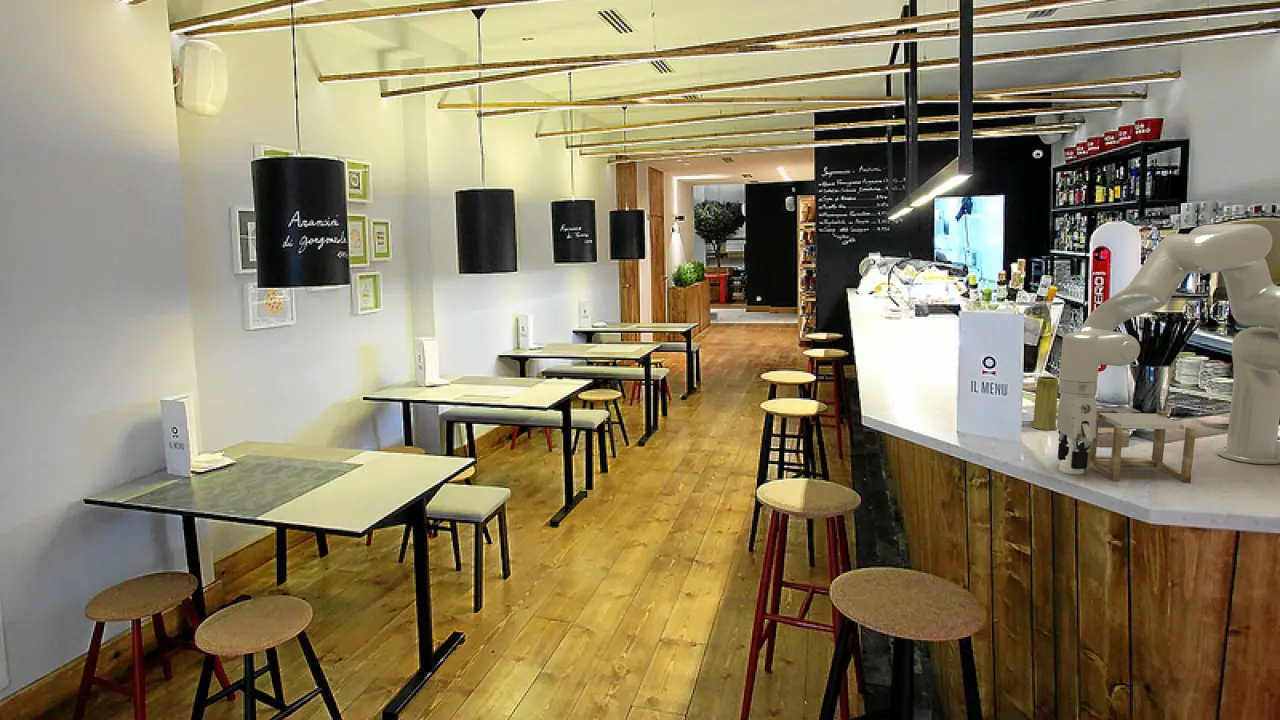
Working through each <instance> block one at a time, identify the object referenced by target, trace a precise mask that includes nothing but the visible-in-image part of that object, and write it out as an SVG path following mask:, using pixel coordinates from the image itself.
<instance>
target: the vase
mask: <svg viewBox="0 0 1280 720" xmlns="http://www.w3.org/2000/svg"><path fill="white" fill-rule="evenodd" d="M1035 387H1036V390H1035V399H1034V408H1033V410H1034V411H1033V421H1032V425H1031V426H1032V428H1033V429H1036V430H1042V431H1054V430H1057V411H1058V410H1057V409H1058V408H1057V407H1058V405H1057V404H1058V390H1059V377H1056V376H1046V375H1045V376H1044V375H1043V376H1037V378H1036V386H1035Z"/></svg>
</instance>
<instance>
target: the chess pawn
mask: <svg viewBox="0 0 1280 720" xmlns="http://www.w3.org/2000/svg"><path fill="white" fill-rule="evenodd" d="M1077 437H1078V438H1081V437H1080V436H1077ZM1067 441H1068V443H1069V444H1067V445H1066V446H1067V447H1069V453H1068V455H1067V456H1065V458H1066V459H1065V460H1062V461H1060V462H1059V467H1058V470H1059V471H1060V472H1061V473H1064V474H1067V475H1068V474H1069V475H1083V474H1084V473H1085V469H1073V468H1071V461H1072V451H1074V444H1073V439H1072V438H1070V437H1068V436H1067ZM1081 442H1082V441H1078V446H1079V444H1080V443H1081Z"/></svg>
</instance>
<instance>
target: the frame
mask: <svg viewBox="0 0 1280 720" xmlns="http://www.w3.org/2000/svg"><path fill="white" fill-rule="evenodd" d="M1155 414H1159V415H1162V416H1164V417H1166V418H1168V412H1166V411H1164V410H1156V412H1155ZM1098 423H1099V412H1098V411H1097V418H1096V438H1095V439H1094V440H1093V441H1092V443H1091V446H1090V448H1089V452H1088V462H1087V466H1089V467H1091V468H1092V469H1093V470H1095V471H1097V472H1098V473H1100V474H1102V475H1103V476H1105V477H1106V478H1107V479H1109V480H1111V481H1112V480H1113V481H1112V482H1119V481H1120V472H1121V471H1120V470H1121V467H1144V468H1145V467H1151V468H1152V467H1153V468H1157V469H1158V470H1161V471H1163V472H1165V473H1166V474H1167V475H1170V476H1171V477H1173V478H1175V479H1177V480H1179V481H1181V482H1182V483H1185V484H1187V483H1188V484H1190V483H1191V481H1192V472H1193V471H1192V470H1193V461H1194V452H1195V443H1196V440H1195V439H1196V433H1197V432H1196V431H1197V429H1196V428H1194V427H1185V429H1184V430H1185V432H1184V442H1183V453H1182V461H1181V462H1182V463H1181V471H1180V470H1178V469H1175V468H1174V467H1172V466H1170V465H1168V464H1166V463H1165V462H1163V461H1164V451H1165V440H1166V432H1167V431H1166V430H1167V429H1153V430H1154V433H1153V442H1152V453H1151V459H1149V460H1148V459H1122V448H1123V447H1122V438H1123V430H1124V428H1122V427H1120V426H1114V433H1113V445H1112V447H1111V455H1110V457H1111V459H1109V458H1108V459H1107V458H1106V459H1105V458H1102V459H1101V458H1100V459H1099V458H1098V459H1097V447H1098V446H1097V436H1098ZM1106 466H1107V467H1109V466H1110V469H1109V468H1107V467H1106Z"/></svg>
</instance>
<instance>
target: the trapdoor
mask: <svg viewBox="0 0 1280 720" xmlns="http://www.w3.org/2000/svg"><path fill="white" fill-rule="evenodd" d="M1096 411H1098V412H1099V423H1098V428H1114V426H1120V427H1122V428H1123V429H1136V430H1137V429H1140V430H1141V429H1142V430H1143V429H1147V430H1155V429H1166V430H1185V424H1183V423H1180V422H1178V421H1176V420H1173V419H1171V418H1169V417H1167V418H1166V417H1164V416H1162V415H1159V414H1156V413H1142V411H1140V410H1139V409H1135V408H1132V407H1096Z"/></svg>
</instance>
